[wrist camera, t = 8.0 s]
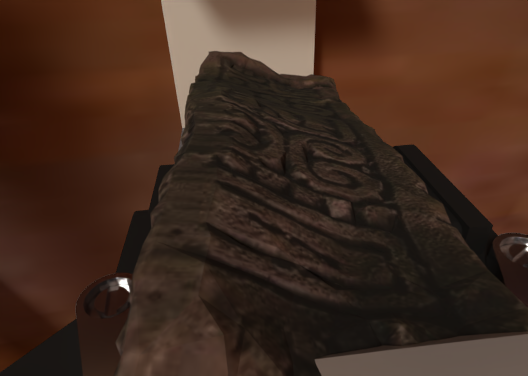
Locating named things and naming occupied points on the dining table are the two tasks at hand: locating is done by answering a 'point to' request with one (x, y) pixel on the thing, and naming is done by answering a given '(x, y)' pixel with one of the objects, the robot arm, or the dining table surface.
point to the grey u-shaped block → (238, 36)
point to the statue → (294, 239)
